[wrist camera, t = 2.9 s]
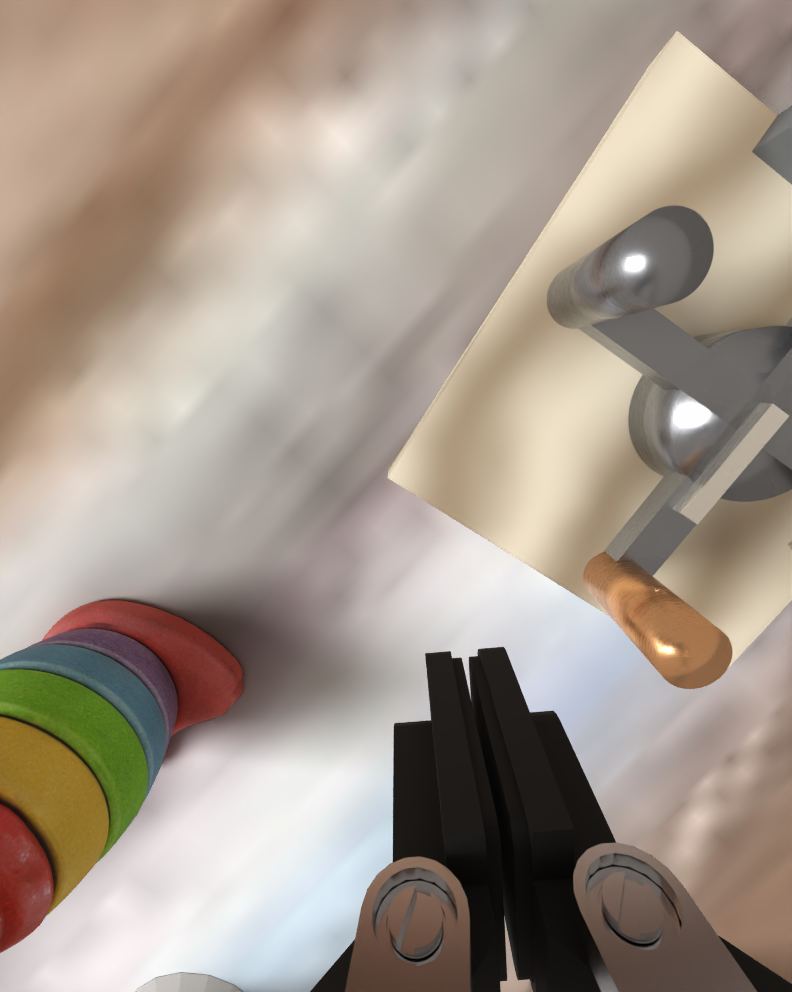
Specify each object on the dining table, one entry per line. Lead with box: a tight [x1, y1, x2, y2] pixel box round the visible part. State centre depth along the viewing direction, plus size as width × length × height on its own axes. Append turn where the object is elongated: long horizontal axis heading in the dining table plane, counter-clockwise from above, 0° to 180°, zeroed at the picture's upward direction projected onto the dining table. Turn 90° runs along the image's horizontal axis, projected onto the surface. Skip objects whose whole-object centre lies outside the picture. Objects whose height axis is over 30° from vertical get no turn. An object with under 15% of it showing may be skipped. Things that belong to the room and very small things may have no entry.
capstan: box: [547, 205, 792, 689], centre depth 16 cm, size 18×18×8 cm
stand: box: [388, 31, 792, 682], centre depth 21 cm, size 20×21×4 cm
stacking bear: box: [0, 600, 243, 953], centre depth 18 cm, size 11×10×18 cm
